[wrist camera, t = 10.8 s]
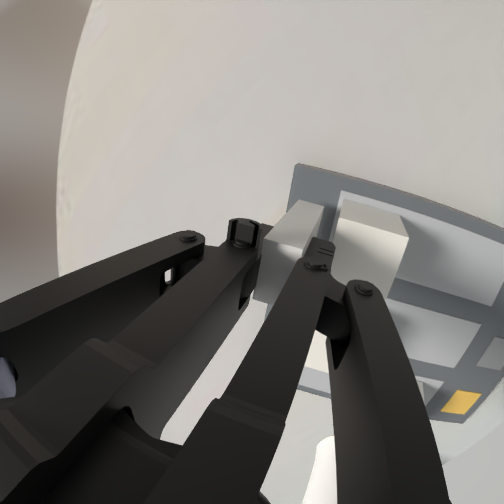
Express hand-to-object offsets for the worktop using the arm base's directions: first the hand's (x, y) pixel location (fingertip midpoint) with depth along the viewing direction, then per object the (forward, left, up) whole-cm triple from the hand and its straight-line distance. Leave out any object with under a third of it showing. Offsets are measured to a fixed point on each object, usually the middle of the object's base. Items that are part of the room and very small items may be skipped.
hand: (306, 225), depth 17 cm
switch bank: (+6, +9, -3) cm, 11 cm away
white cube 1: (0, +4, -1) cm, 4 cm away
